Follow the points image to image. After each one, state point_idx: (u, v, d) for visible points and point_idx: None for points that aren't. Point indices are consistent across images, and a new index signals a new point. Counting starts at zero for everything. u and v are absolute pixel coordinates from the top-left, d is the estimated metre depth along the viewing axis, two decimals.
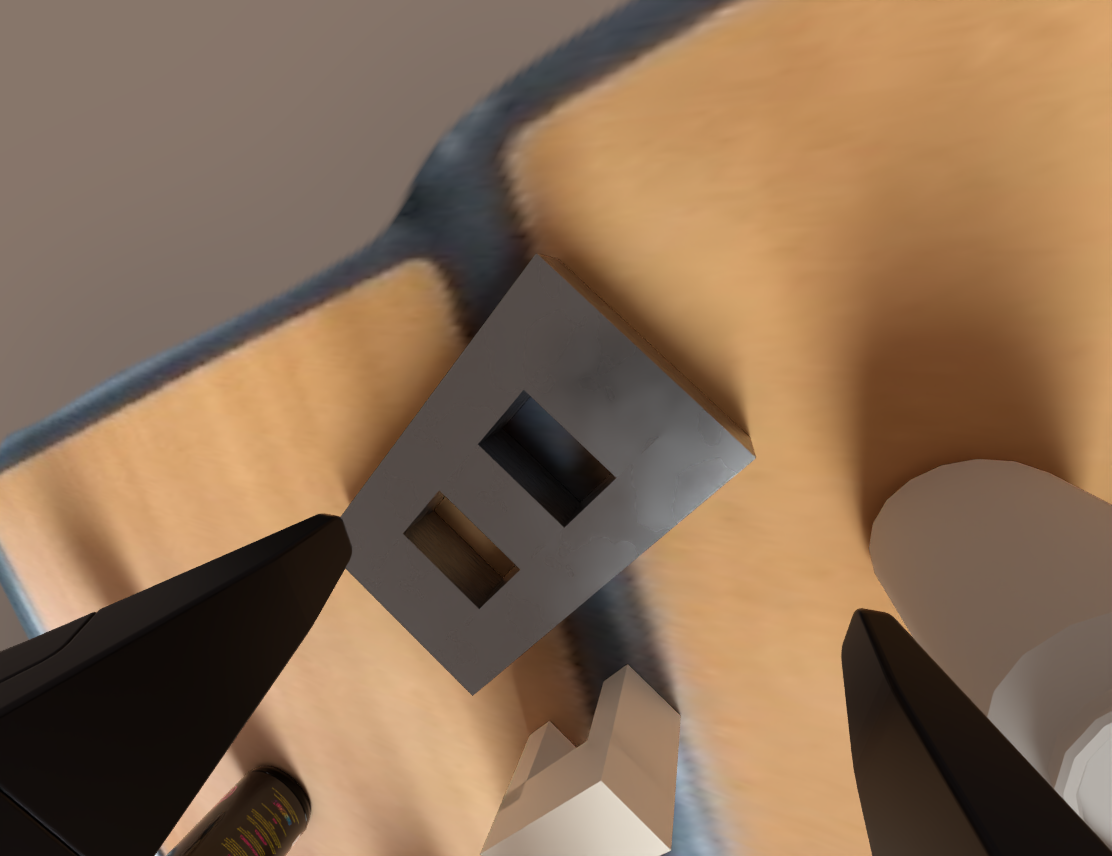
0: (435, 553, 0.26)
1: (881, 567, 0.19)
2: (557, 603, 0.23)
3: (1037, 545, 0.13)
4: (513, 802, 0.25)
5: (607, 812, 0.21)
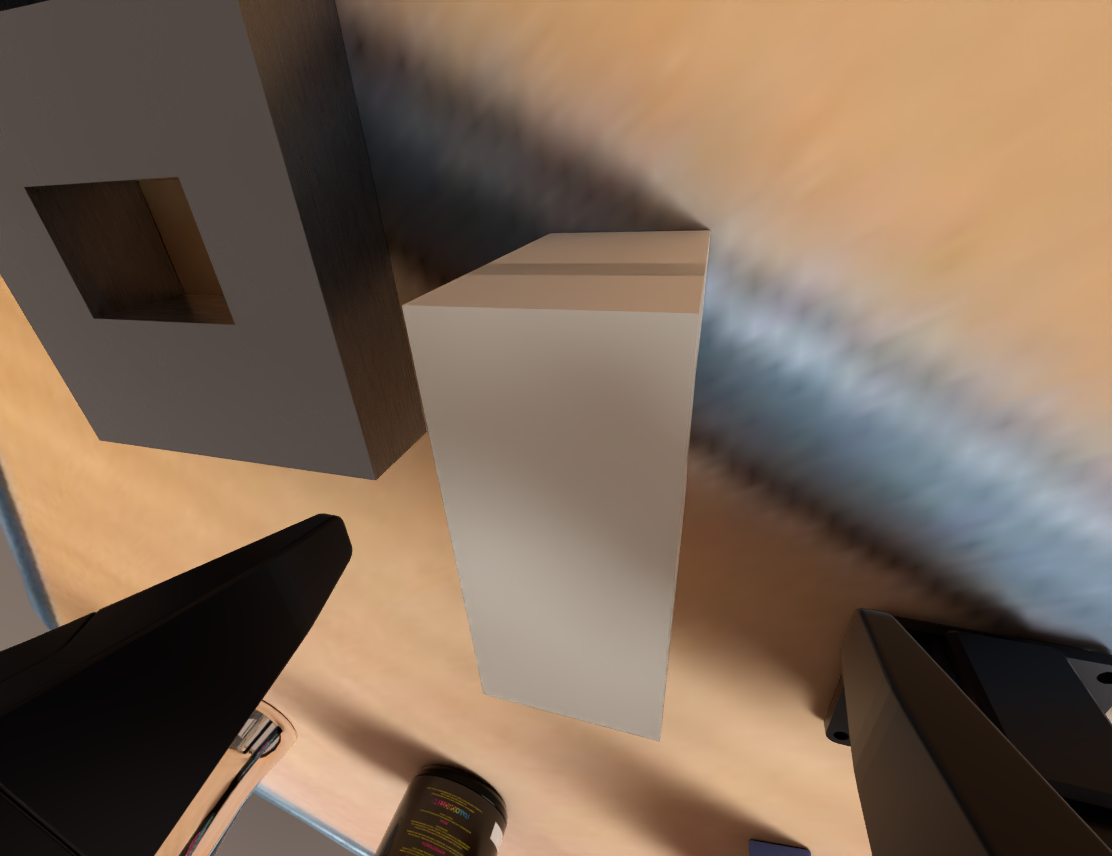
0: (161, 314, 0.15)
1: None
2: (255, 166, 0.11)
3: None
4: None
5: (497, 381, 0.07)
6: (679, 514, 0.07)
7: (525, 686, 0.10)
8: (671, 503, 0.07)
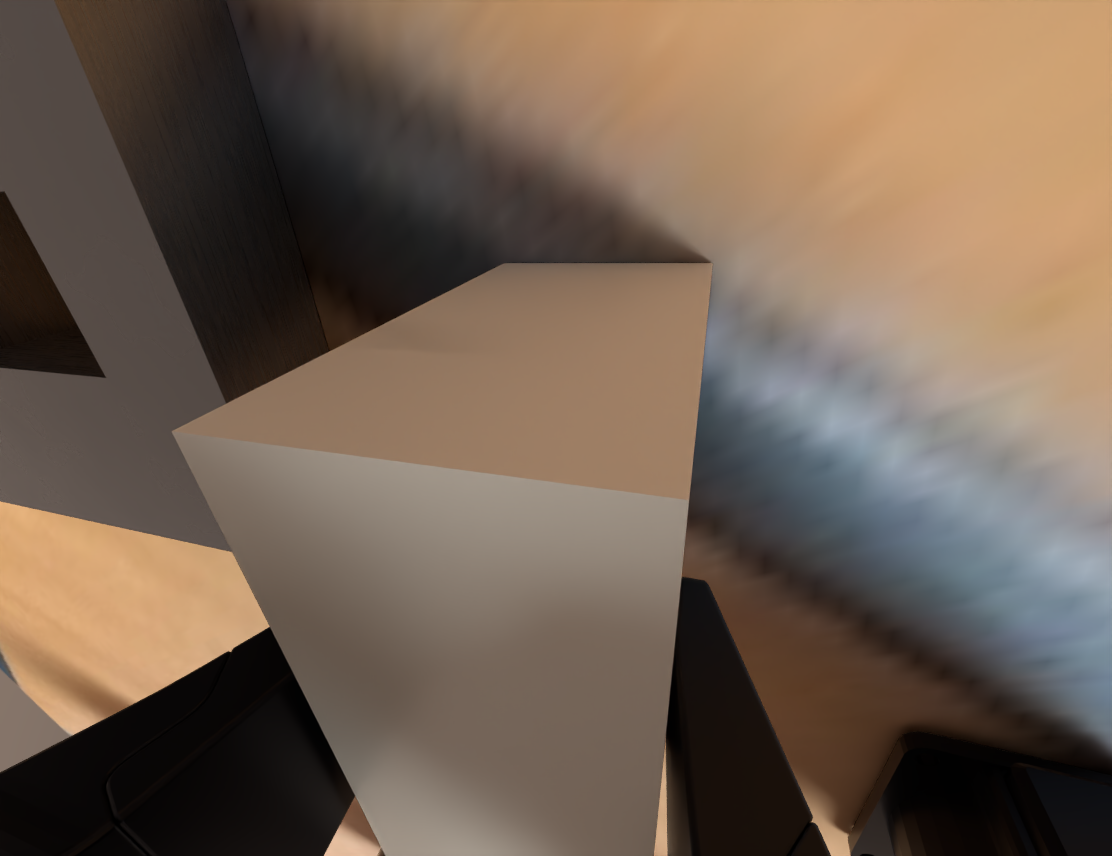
0: (32, 357, 0.12)
1: None
2: (94, 178, 0.08)
3: None
4: None
5: (344, 558, 0.04)
6: (659, 775, 0.04)
7: None
8: (644, 760, 0.04)
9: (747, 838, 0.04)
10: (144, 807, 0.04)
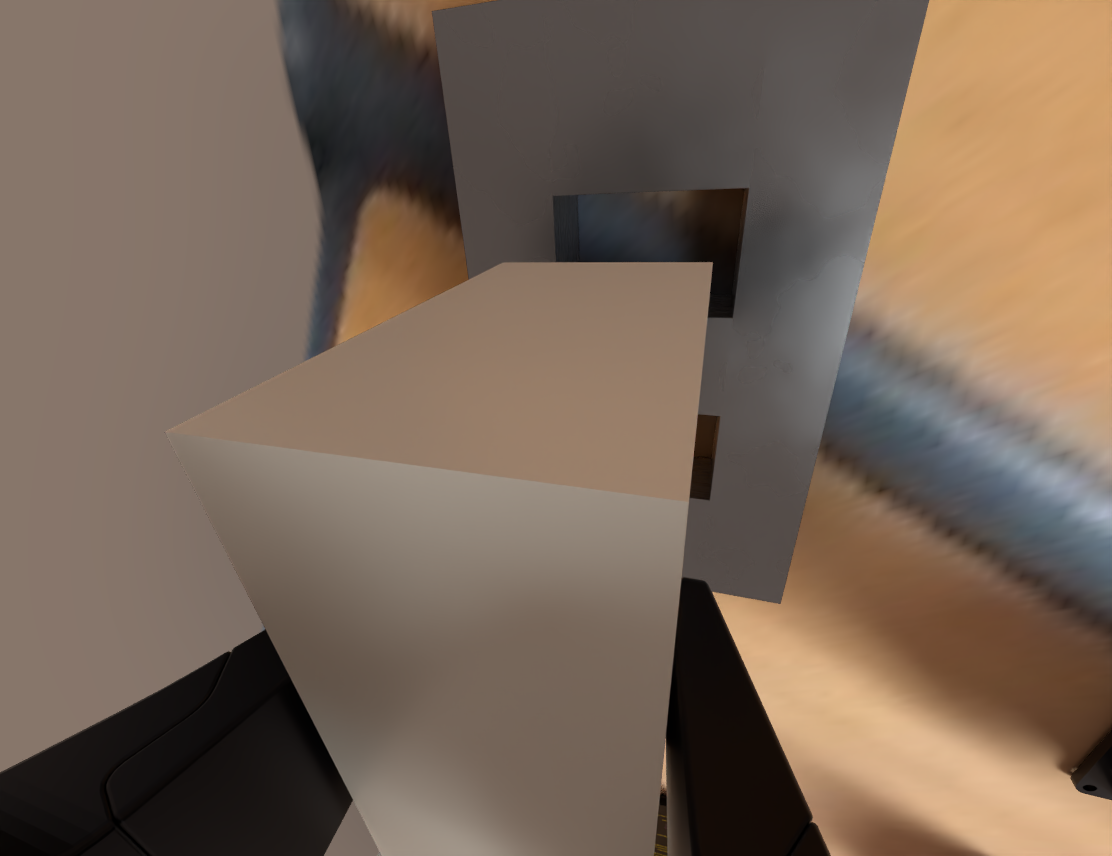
0: None
1: None
2: (797, 419, 0.16)
3: None
4: None
5: (340, 560, 0.04)
6: (659, 780, 0.04)
7: None
8: (644, 765, 0.04)
9: (747, 838, 0.04)
10: (145, 806, 0.04)
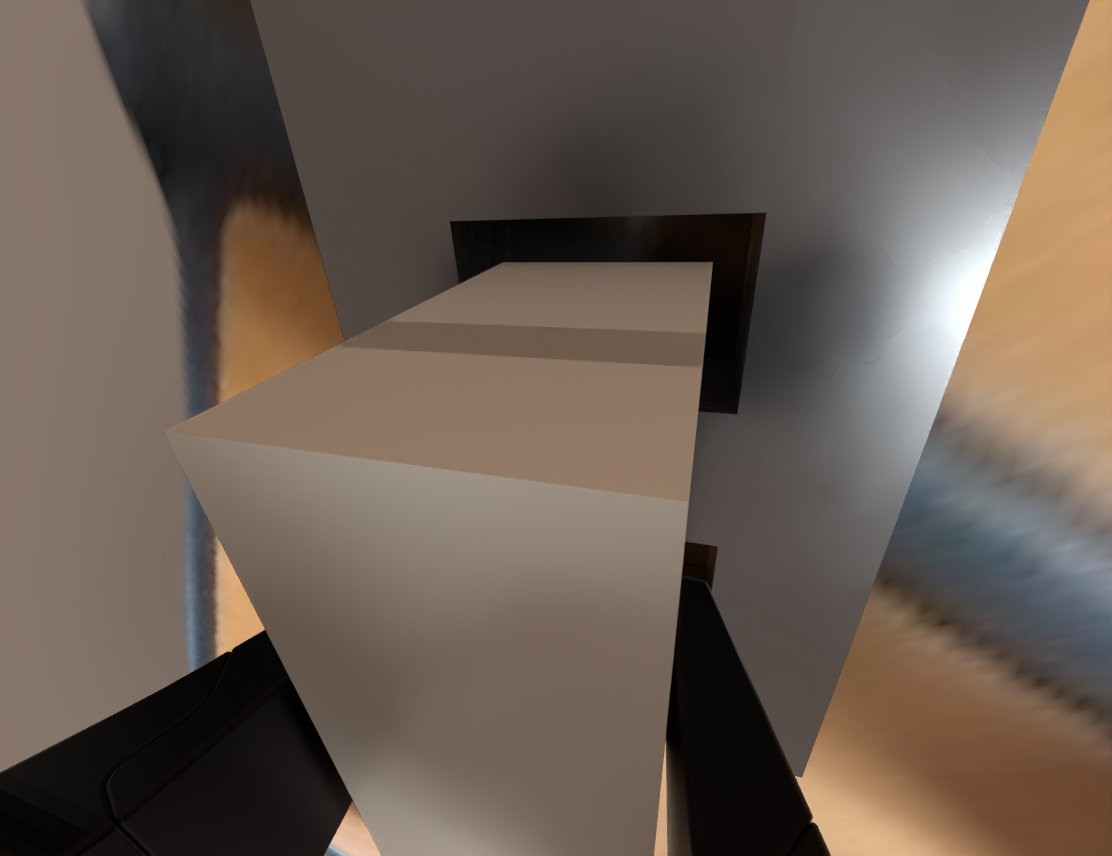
0: None
1: None
2: (836, 560, 0.10)
3: None
4: None
5: (339, 560, 0.04)
6: (659, 780, 0.04)
7: None
8: (644, 765, 0.04)
9: (747, 838, 0.04)
10: (145, 807, 0.04)
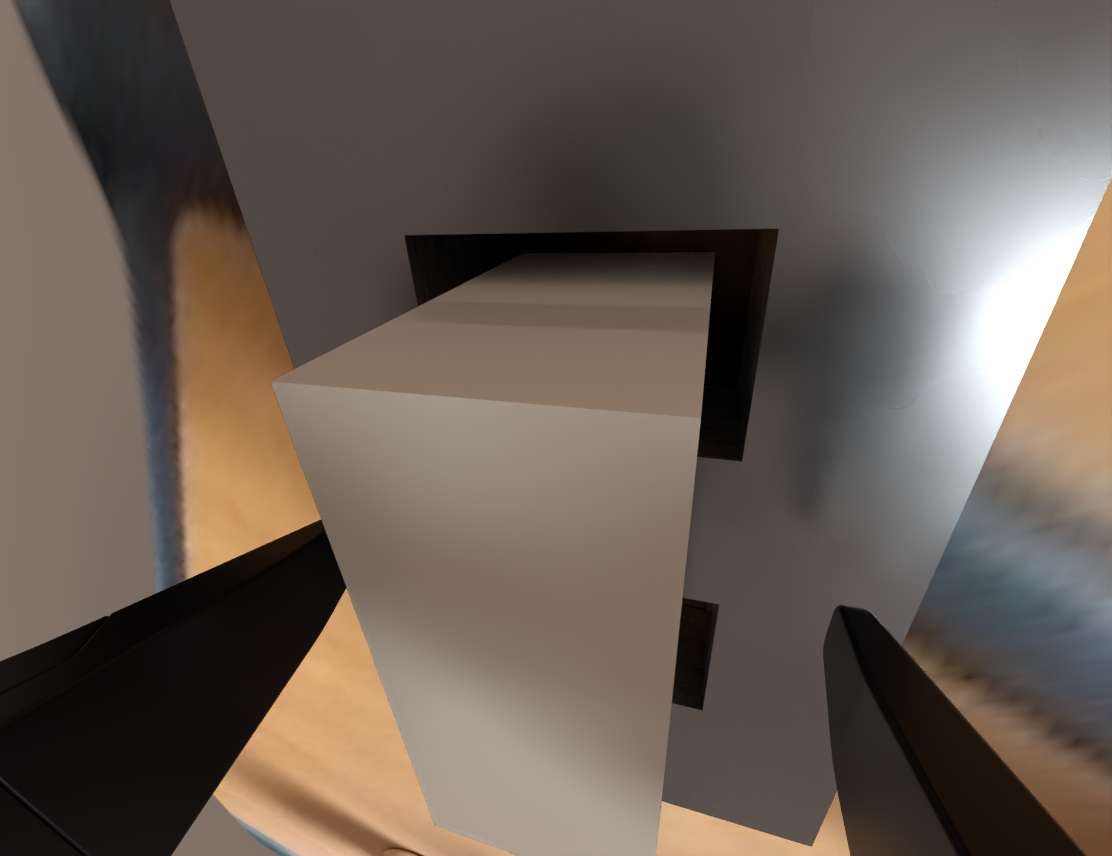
0: None
1: None
2: None
3: None
4: None
5: (411, 488, 0.05)
6: (673, 673, 0.05)
7: (482, 825, 0.08)
8: (661, 659, 0.05)
9: None
10: None
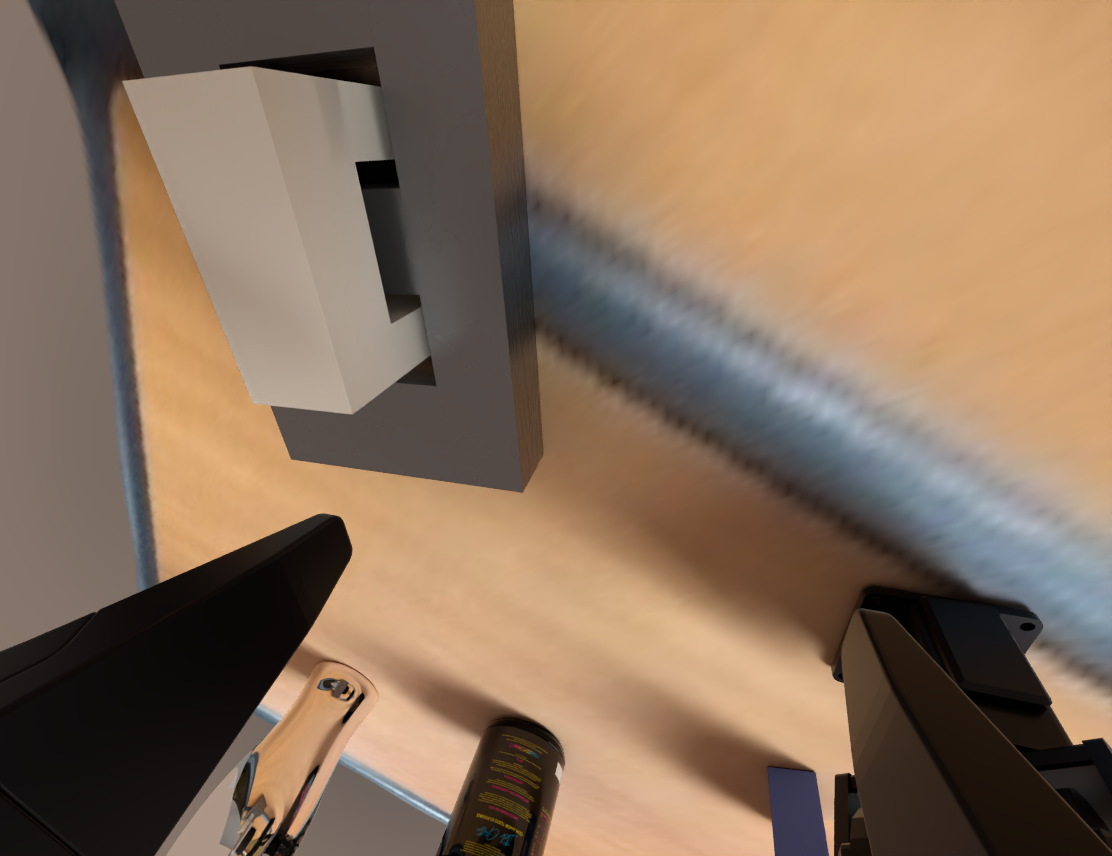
0: None
1: None
2: (481, 294, 0.16)
3: None
4: None
5: (181, 127, 0.12)
6: (293, 210, 0.12)
7: (271, 386, 0.16)
8: (285, 202, 0.12)
9: None
10: None
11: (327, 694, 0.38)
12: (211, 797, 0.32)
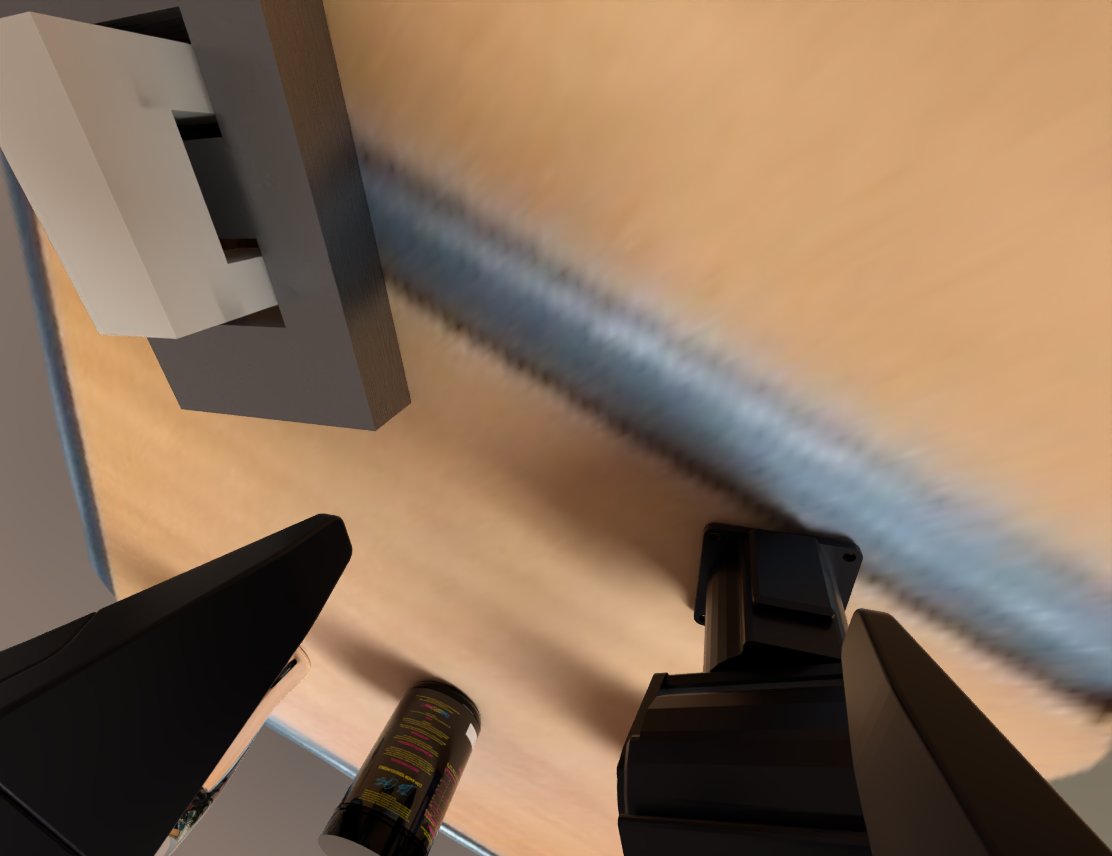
0: (233, 320, 0.22)
1: None
2: (304, 234, 0.18)
3: None
4: None
5: None
6: (89, 143, 0.14)
7: (109, 316, 0.18)
8: (82, 135, 0.14)
9: None
10: None
11: None
12: None
